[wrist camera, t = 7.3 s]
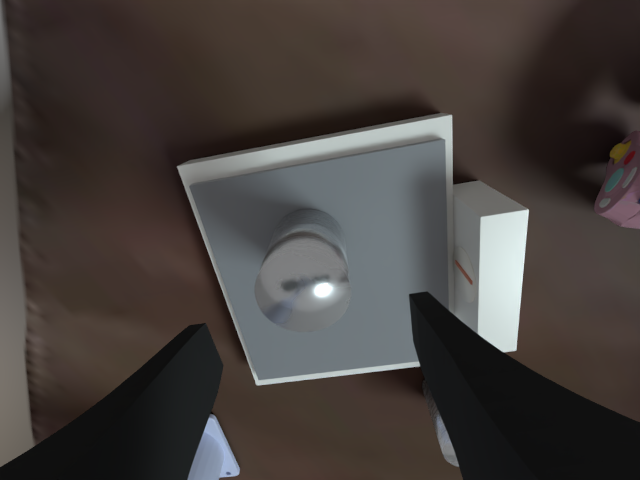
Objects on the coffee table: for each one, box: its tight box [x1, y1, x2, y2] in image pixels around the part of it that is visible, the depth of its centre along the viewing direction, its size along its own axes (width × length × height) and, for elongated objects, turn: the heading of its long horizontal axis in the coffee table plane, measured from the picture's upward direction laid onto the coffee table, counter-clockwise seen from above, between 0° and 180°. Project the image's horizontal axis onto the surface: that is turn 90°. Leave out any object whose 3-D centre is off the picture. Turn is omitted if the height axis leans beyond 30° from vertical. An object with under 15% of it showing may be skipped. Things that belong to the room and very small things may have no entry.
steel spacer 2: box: [422, 378, 459, 467], centre depth 23 cm, size 4×4×5 cm
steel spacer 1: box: [254, 208, 351, 332], centre depth 16 cm, size 4×4×5 cm
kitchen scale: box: [177, 113, 529, 385], centre depth 18 cm, size 16×16×5 cm
